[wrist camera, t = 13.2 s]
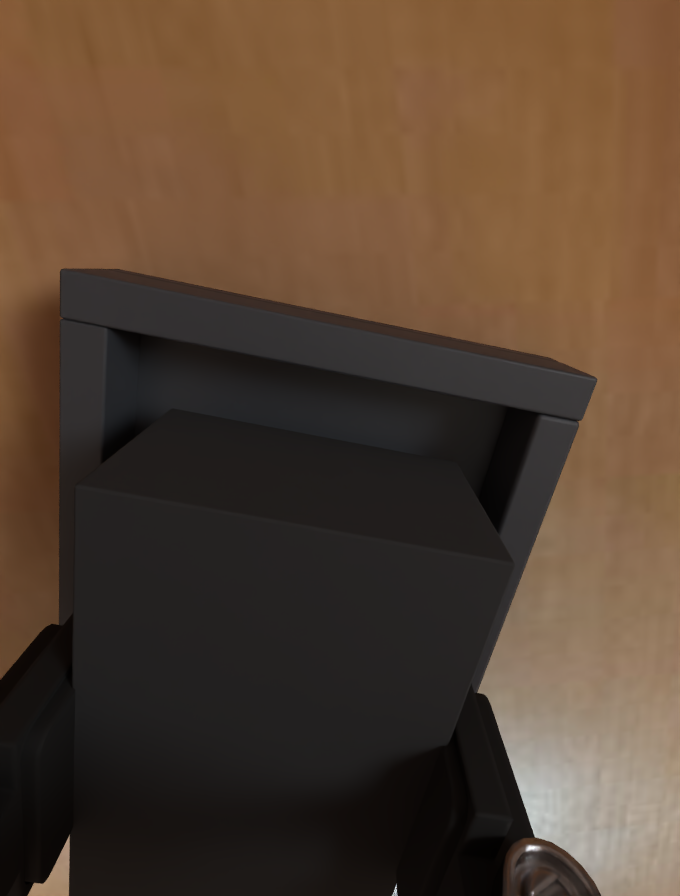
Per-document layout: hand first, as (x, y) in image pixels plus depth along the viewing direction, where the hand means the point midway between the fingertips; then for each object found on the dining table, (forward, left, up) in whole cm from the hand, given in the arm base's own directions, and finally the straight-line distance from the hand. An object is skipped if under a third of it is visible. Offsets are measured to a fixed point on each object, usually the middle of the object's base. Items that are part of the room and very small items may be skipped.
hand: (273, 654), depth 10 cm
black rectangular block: (0, 0, -1) cm, 1 cm away
